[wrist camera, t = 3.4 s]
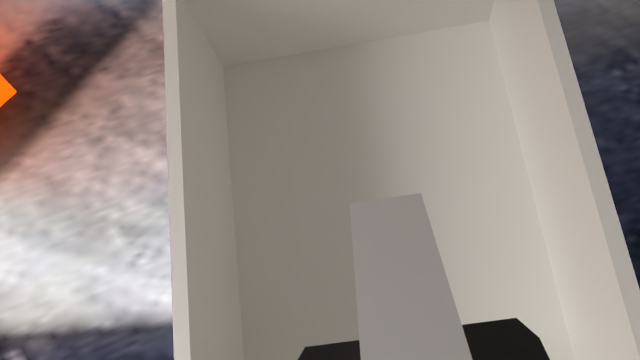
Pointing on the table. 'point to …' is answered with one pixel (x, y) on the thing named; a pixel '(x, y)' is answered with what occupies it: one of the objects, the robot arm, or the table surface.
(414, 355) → the robot arm
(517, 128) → the box
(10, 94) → the orange juice
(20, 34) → the table surface
